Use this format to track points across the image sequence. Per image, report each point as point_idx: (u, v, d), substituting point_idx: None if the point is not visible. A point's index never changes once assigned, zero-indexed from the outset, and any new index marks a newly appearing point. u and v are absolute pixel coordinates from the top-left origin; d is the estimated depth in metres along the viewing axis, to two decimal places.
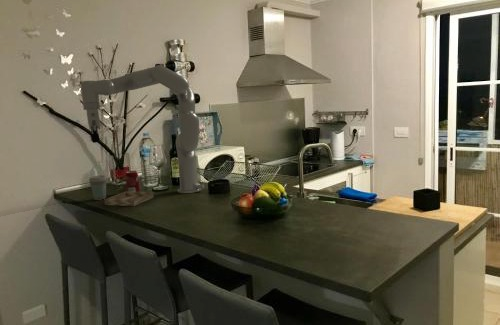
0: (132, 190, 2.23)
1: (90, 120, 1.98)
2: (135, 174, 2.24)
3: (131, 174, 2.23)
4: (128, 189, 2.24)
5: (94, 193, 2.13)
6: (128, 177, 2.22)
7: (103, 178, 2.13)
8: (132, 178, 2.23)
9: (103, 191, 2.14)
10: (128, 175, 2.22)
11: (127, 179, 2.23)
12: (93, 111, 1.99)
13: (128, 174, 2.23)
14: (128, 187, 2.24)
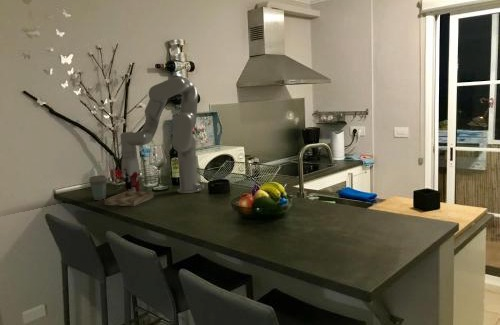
0: (132, 190, 2.23)
1: None
2: (135, 174, 2.24)
3: None
4: (128, 189, 2.24)
5: (94, 193, 2.13)
6: None
7: (103, 178, 2.13)
8: (132, 178, 2.23)
9: (103, 191, 2.14)
10: None
11: None
12: None
13: None
14: None
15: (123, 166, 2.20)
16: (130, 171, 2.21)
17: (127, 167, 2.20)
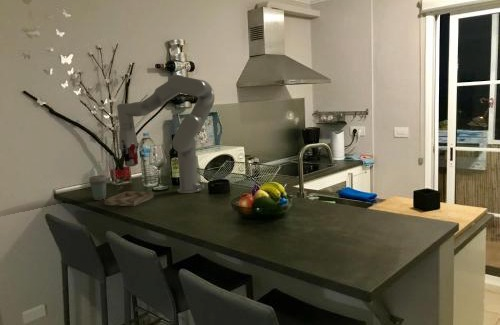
0: (130, 162, 2.21)
1: None
2: (133, 146, 2.21)
3: None
4: (126, 161, 2.21)
5: (94, 193, 2.13)
6: None
7: (103, 178, 2.13)
8: (130, 150, 2.20)
9: (103, 191, 2.14)
10: (125, 147, 2.20)
11: None
12: None
13: None
14: None
15: (121, 138, 2.18)
16: (128, 143, 2.19)
17: (125, 138, 2.18)
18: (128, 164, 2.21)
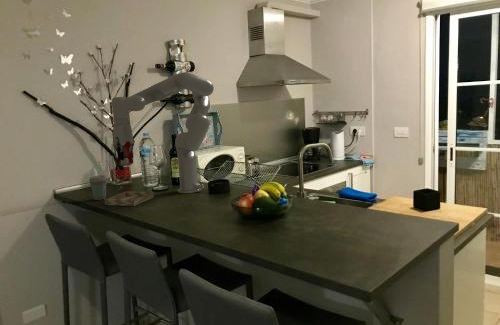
0: (125, 161, 2.02)
1: None
2: (128, 143, 2.03)
3: None
4: (120, 160, 2.03)
5: (94, 193, 2.13)
6: (120, 147, 2.01)
7: (103, 178, 2.13)
8: (125, 148, 2.02)
9: (103, 191, 2.14)
10: None
11: None
12: None
13: None
14: None
15: (115, 134, 1.99)
16: (122, 140, 2.00)
17: (119, 135, 1.99)
18: (122, 163, 2.03)
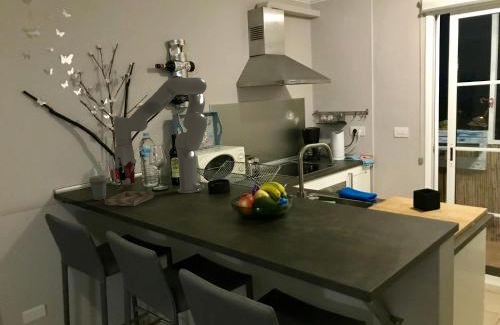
0: (126, 181, 2.04)
1: None
2: (130, 164, 2.04)
3: None
4: (122, 180, 2.04)
5: (94, 193, 2.13)
6: None
7: (103, 178, 2.13)
8: (126, 168, 2.03)
9: (103, 191, 2.14)
10: None
11: None
12: None
13: None
14: None
15: (117, 155, 2.01)
16: (124, 160, 2.01)
17: (121, 156, 2.00)
18: (124, 183, 2.04)
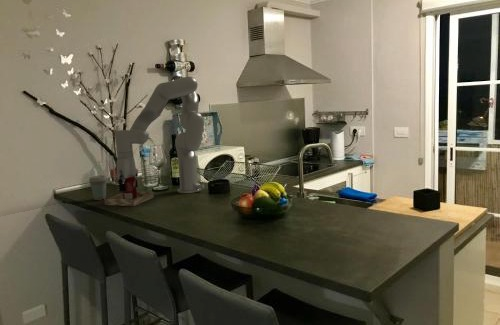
0: (129, 196, 2.05)
1: None
2: (132, 179, 2.05)
3: (128, 179, 2.04)
4: (124, 195, 2.05)
5: (94, 193, 2.13)
6: (124, 182, 2.04)
7: (103, 178, 2.13)
8: (129, 183, 2.04)
9: (103, 191, 2.14)
10: None
11: None
12: None
13: None
14: (124, 193, 2.05)
15: (118, 167, 2.02)
16: (126, 173, 2.02)
17: (122, 168, 2.01)
18: (126, 198, 2.05)
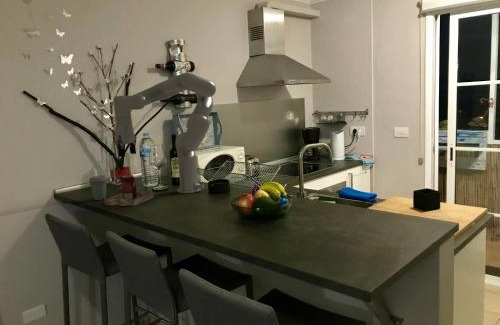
0: (128, 196, 2.05)
1: None
2: (132, 179, 2.05)
3: (127, 179, 2.04)
4: (124, 195, 2.05)
5: (94, 193, 2.13)
6: (124, 182, 2.04)
7: (103, 178, 2.13)
8: (128, 183, 2.04)
9: (103, 191, 2.14)
10: (124, 180, 2.04)
11: (123, 184, 2.04)
12: None
13: (124, 179, 2.04)
14: (124, 193, 2.05)
15: (117, 132, 2.02)
16: (125, 138, 2.03)
17: (121, 133, 2.02)
18: (126, 198, 2.05)
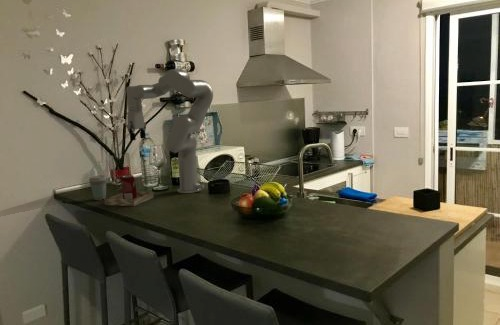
0: (129, 196, 2.05)
1: None
2: (132, 179, 2.05)
3: (127, 179, 2.04)
4: (124, 195, 2.05)
5: (94, 193, 2.13)
6: (124, 182, 2.04)
7: (103, 178, 2.13)
8: (128, 183, 2.04)
9: (103, 191, 2.14)
10: (124, 180, 2.04)
11: (123, 184, 2.04)
12: None
13: (124, 179, 2.04)
14: (124, 193, 2.05)
15: (129, 118, 2.29)
16: (136, 123, 2.29)
17: (133, 119, 2.28)
18: (126, 198, 2.05)
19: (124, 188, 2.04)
